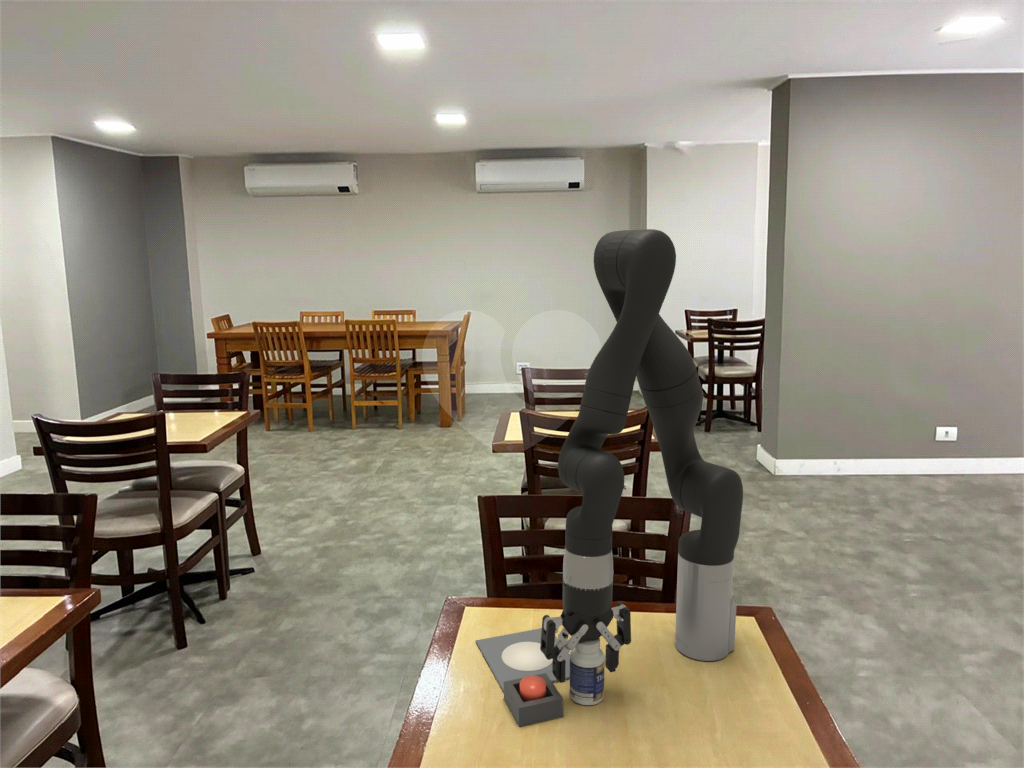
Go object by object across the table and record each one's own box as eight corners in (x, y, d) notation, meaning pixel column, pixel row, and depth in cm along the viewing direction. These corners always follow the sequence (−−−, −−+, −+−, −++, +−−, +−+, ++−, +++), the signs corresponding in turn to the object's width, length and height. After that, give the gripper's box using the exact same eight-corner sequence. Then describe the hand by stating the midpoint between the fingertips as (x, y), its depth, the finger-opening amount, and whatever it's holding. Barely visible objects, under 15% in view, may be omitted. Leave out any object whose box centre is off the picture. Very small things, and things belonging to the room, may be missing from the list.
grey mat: (548, 628, 130) (548, 626, 130) (584, 675, 115) (584, 673, 115) (475, 642, 125) (475, 639, 125) (503, 693, 111) (503, 690, 110)
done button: (540, 685, 109) (540, 673, 109) (550, 700, 105) (550, 688, 105) (516, 690, 108) (515, 678, 107) (525, 705, 104) (524, 693, 104)
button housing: (545, 690, 111) (545, 672, 111) (563, 716, 105) (563, 698, 104) (503, 699, 109) (503, 681, 109) (518, 726, 102) (518, 708, 102)
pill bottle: (602, 708, 107) (603, 649, 105) (567, 704, 108) (567, 645, 106) (605, 687, 112) (606, 631, 110) (571, 684, 113) (572, 628, 111)
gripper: (618, 560, 112) (615, 654, 115) (534, 572, 107) (533, 670, 110) (641, 579, 105) (638, 679, 108) (553, 593, 100) (552, 697, 103)
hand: (585, 674), depth 109 cm, fingers open, 8 cm apart
